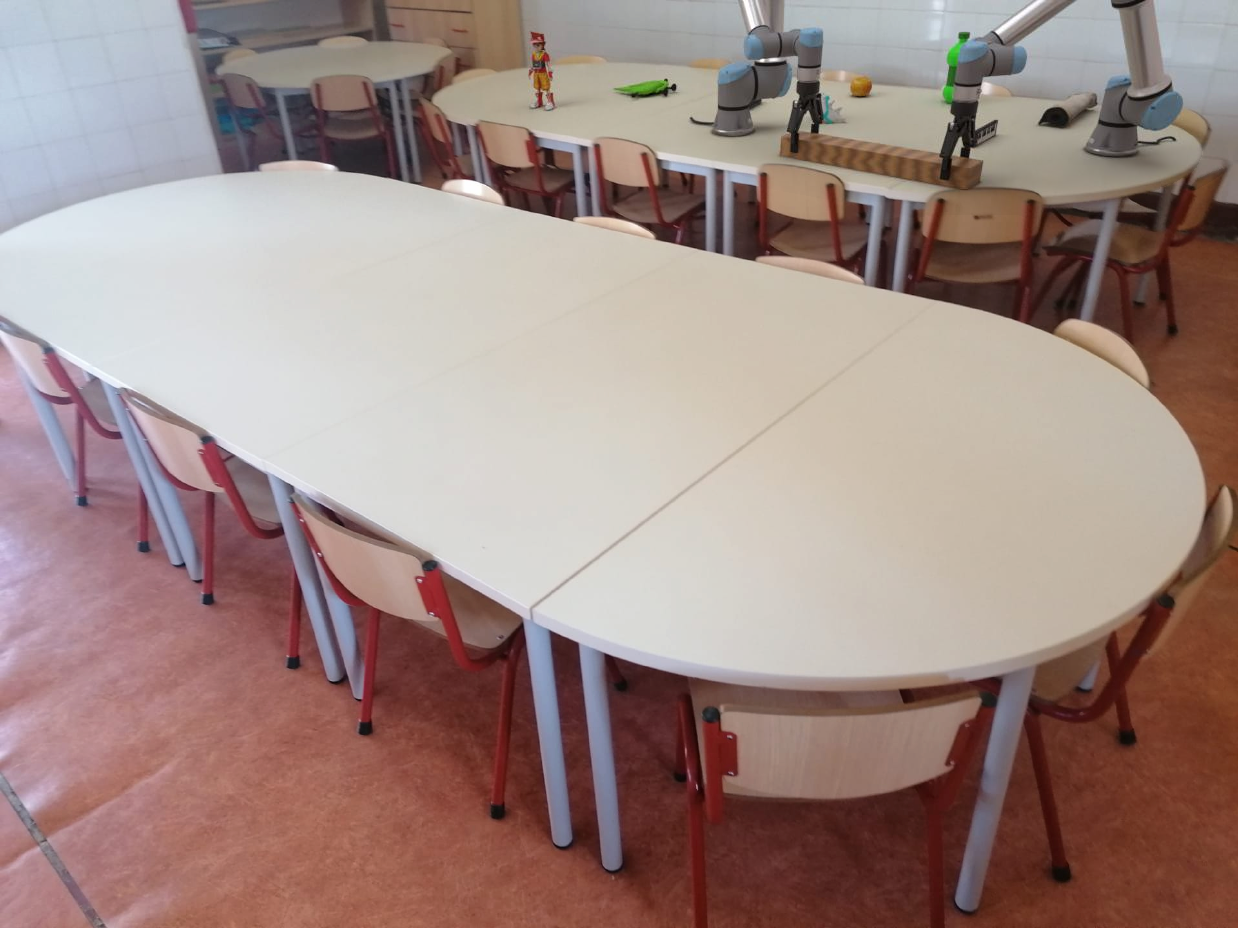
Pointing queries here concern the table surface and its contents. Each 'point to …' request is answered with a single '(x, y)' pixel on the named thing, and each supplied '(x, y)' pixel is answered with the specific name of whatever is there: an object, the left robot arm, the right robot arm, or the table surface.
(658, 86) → the toy
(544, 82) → the toy
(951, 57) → the plastic bottle
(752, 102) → the disk drive
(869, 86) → the fruit
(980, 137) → the midi keyboard
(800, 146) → the wide beam
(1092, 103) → the rolled mat
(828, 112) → the anatomical model
